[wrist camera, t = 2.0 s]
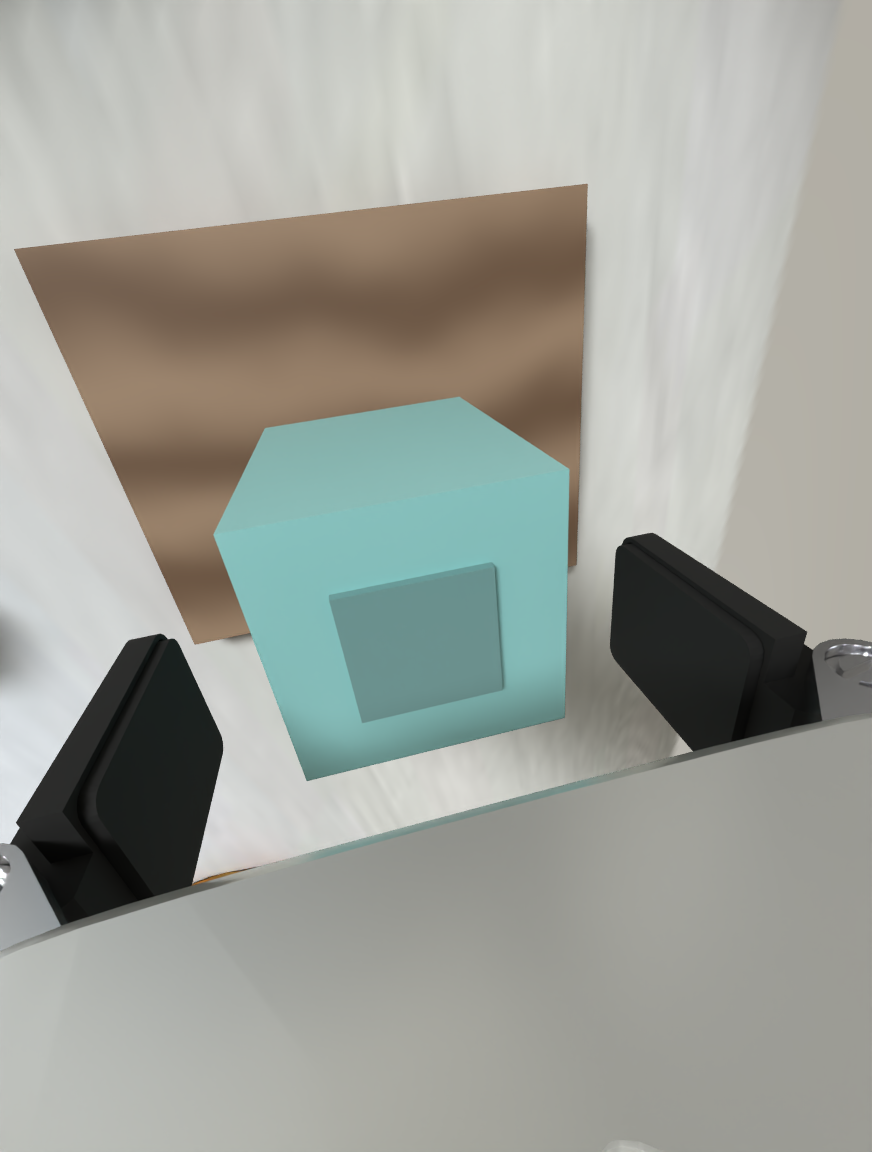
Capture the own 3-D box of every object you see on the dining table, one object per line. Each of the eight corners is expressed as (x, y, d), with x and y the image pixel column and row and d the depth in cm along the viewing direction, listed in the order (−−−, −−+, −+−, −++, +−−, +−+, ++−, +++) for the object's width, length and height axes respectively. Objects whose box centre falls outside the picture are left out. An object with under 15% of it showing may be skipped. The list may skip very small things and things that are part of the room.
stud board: (41, 254, 19) (-229, 203, 10) (566, 193, 22) (752, 106, 12) (202, 623, 28) (142, 782, 19) (562, 550, 31) (667, 658, 21)
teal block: (265, 428, 15) (211, 539, 8) (459, 396, 15) (574, 472, 8) (313, 596, 18) (306, 788, 11) (473, 563, 18) (568, 723, 11)
